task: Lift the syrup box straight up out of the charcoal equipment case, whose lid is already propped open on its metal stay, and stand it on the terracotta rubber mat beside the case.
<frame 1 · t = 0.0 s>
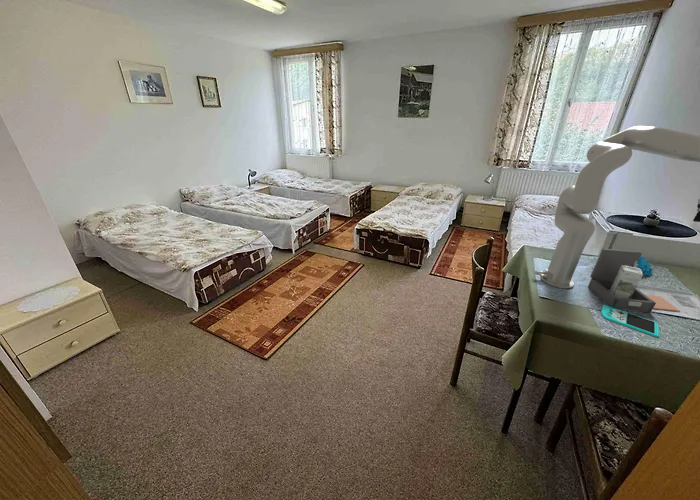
syrup box: (616, 299, 120), resting in equipment case
equipment case: (617, 298, 119), on the table
rubber mat: (655, 302, 117), on the table
gear: (640, 272, 140), on the table
handheld game console: (627, 321, 107), on the table
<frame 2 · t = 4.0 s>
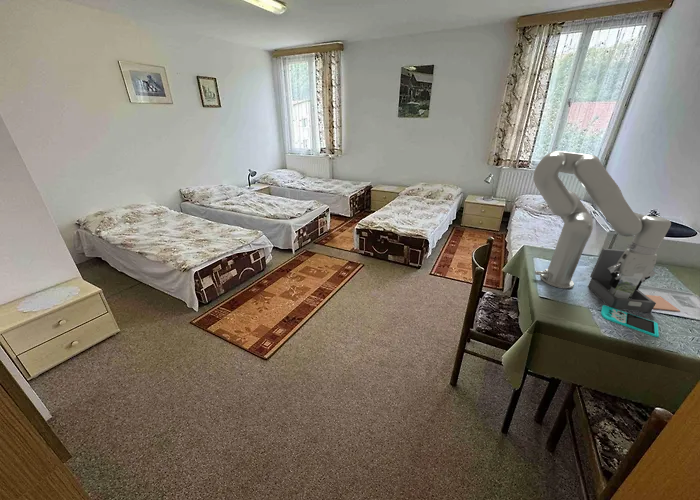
hand: (623, 287, 117), 6 cm above the table, tool pointing down, fingers closed on syrup box, 7 cm apart
syrup box: (616, 299, 119), resting in equipment case, touching gripper
everything else where it was.
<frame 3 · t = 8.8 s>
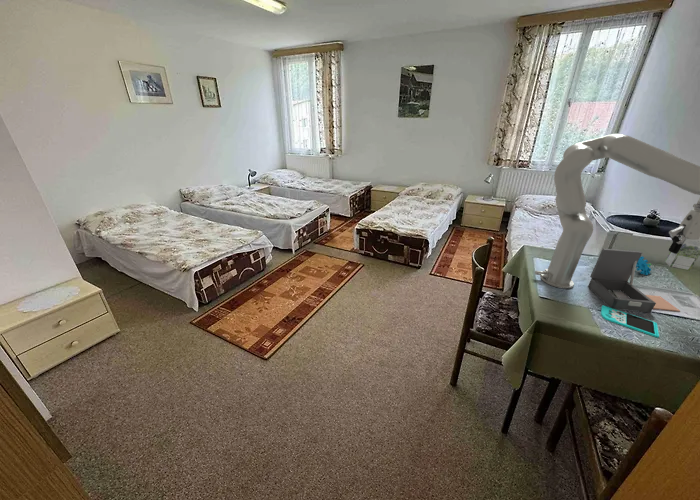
hand: (684, 252, 107), 23 cm above the table, tool pointing down, fingers closed on syrup box, 7 cm apart
syrup box: (676, 266, 110), point 17 cm above the table, touching gripper
everything else where it was.
when the fingers open (8 cm above the table, at t = 12.0 s): syrup box drops 1 cm, resting on rubber mat.
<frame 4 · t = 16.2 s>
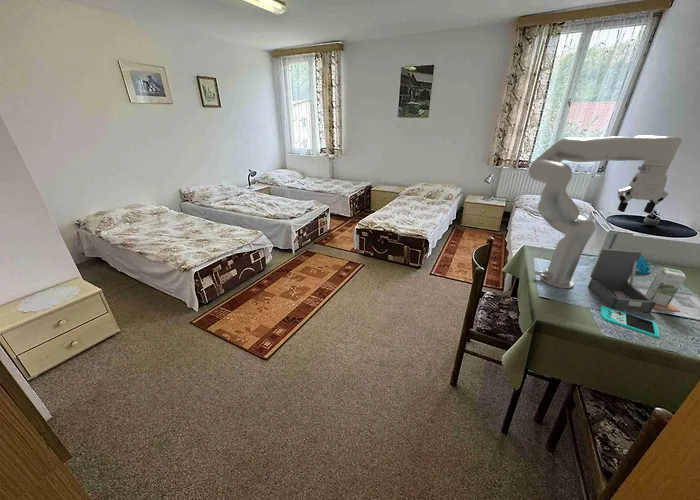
hand: (633, 211, 119), 33 cm above the table, tool pointing down, fingers open, 9 cm apart
syrup box: (655, 302, 117), resting on rubber mat
at the end: syrup box inside the target area on the rubber mat (0.1 cm from its centre), point 0.3 cm above the rubber mat's base; syrup box tilted 0°; the gripper is holding nothing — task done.
